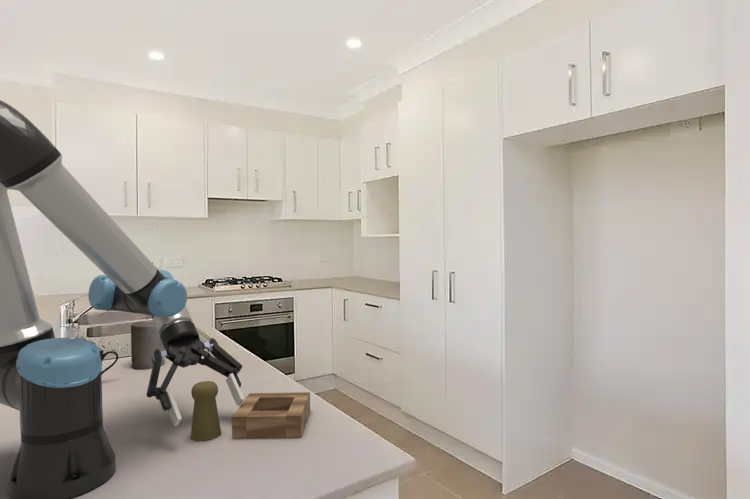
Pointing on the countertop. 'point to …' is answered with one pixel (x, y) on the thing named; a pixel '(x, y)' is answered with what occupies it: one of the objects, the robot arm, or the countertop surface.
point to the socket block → (271, 415)
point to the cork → (205, 412)
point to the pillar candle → (144, 344)
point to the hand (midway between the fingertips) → (211, 412)
